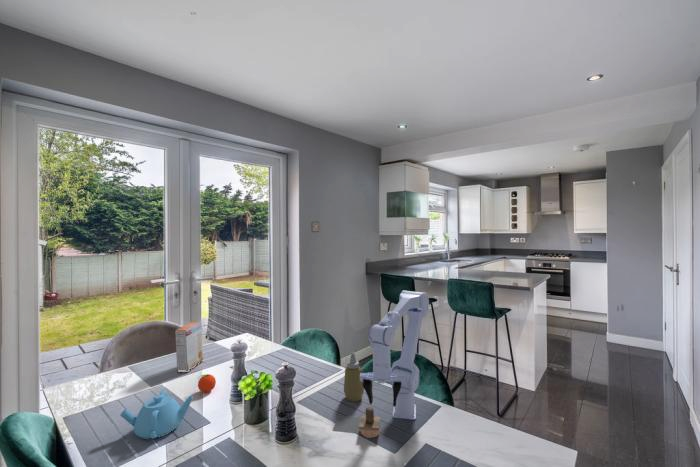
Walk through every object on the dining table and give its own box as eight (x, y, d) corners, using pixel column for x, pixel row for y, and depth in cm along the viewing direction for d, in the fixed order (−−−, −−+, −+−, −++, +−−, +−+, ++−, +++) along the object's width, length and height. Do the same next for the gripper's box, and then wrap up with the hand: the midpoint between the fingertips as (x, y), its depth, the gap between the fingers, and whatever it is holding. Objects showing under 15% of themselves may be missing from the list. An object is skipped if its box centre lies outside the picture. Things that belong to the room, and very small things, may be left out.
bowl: (362, 426, 111) (362, 417, 111) (380, 428, 110) (380, 419, 110) (359, 437, 105) (359, 428, 105) (378, 439, 104) (377, 430, 104)
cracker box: (192, 361, 172) (191, 321, 171) (203, 361, 171) (202, 321, 171) (175, 373, 158) (174, 329, 157) (187, 373, 157) (186, 329, 157)
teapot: (159, 412, 124) (158, 382, 123) (195, 420, 118) (194, 389, 118) (118, 436, 109) (117, 403, 109) (157, 447, 103) (155, 412, 103)
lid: (361, 417, 111) (361, 403, 111) (380, 419, 110) (380, 404, 110) (358, 429, 105) (358, 414, 105) (378, 430, 104) (378, 415, 104)
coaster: (338, 416, 118) (338, 415, 117) (363, 418, 116) (363, 417, 116) (332, 431, 109) (332, 430, 109) (358, 434, 107) (358, 433, 107)
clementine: (192, 394, 136) (191, 377, 136) (203, 386, 143) (202, 370, 143) (209, 396, 134) (208, 379, 134) (219, 388, 141) (219, 371, 141)
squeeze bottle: (362, 404, 125) (361, 357, 125) (341, 403, 126) (340, 356, 126) (365, 394, 133) (364, 350, 132) (346, 392, 134) (345, 349, 134)
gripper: (357, 365, 104) (358, 408, 105) (403, 369, 101) (404, 412, 101) (361, 357, 111) (362, 396, 112) (404, 359, 108) (405, 400, 108)
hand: (382, 403), depth 107 cm, fingers open, 7 cm apart
